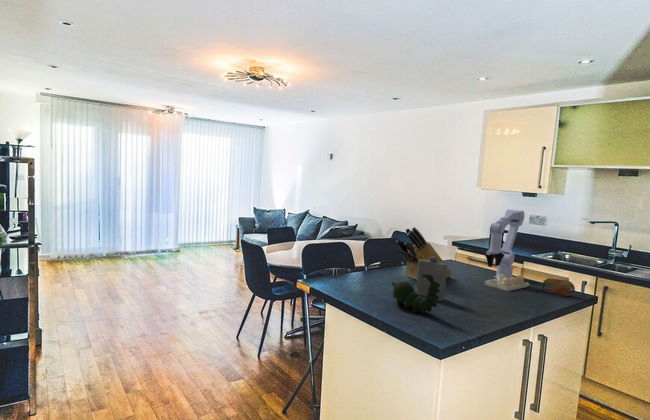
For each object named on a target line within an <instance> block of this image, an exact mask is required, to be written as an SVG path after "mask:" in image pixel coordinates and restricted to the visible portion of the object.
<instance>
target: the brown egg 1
mask: <svg viewBox="0 0 650 420" xmlns="http://www.w3.org/2000/svg"><path fill="white" fill-rule="evenodd" d="M510 284H511V281H510V279H508V278H504V279H503V280H502V285H503V286H507V287H509V286H510Z"/></svg>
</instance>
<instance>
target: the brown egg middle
mask: <svg viewBox="0 0 650 420" xmlns="http://www.w3.org/2000/svg"><path fill="white" fill-rule="evenodd" d="M509 279H510V281H511V284H512V285H517V279H516V276H512V277H510V278H509Z"/></svg>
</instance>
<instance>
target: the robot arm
mask: <svg viewBox="0 0 650 420" xmlns="http://www.w3.org/2000/svg"><path fill="white" fill-rule="evenodd" d="M524 220H525V212H524V210H515V209H506V210H505V213H504V216H503V217H502V216H501V217H500V218H499V219H498V220H496V221H495V222H492V223H491V224H490V226H489V232H490V233H489V235H490V246H489V249H488V250H487V251H486V253H484V257H485V259H486V262H487V267H490V268H492V267H493V264H494V263H495V266H496V275H494V276H493V278H495V279H497V277H498V275H499V274H504V275H505V277H507V278H510V277H513V270H514V269H513V266H512V265H513V264H514V261H515V253H514V251H513V250H512V249H513V245H514V243H515V240H516V237H517V234H518V230H519V227H520V226H522V225H523V223H524ZM508 225H509V228H508V231H507V234H506V237H505V240H504V243H503V245H502V238H503V234H504V231H505V229H506V227H507V226H508ZM501 246H502V247H501ZM494 261H495V262H494Z"/></svg>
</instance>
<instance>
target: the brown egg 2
mask: <svg viewBox="0 0 650 420" xmlns="http://www.w3.org/2000/svg"><path fill="white" fill-rule="evenodd" d="M515 278H516V279H517V283H520V284H523V283H524V282H525V281H524V280H525V279H524V277H523V276H522V275H516V276H515Z"/></svg>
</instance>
